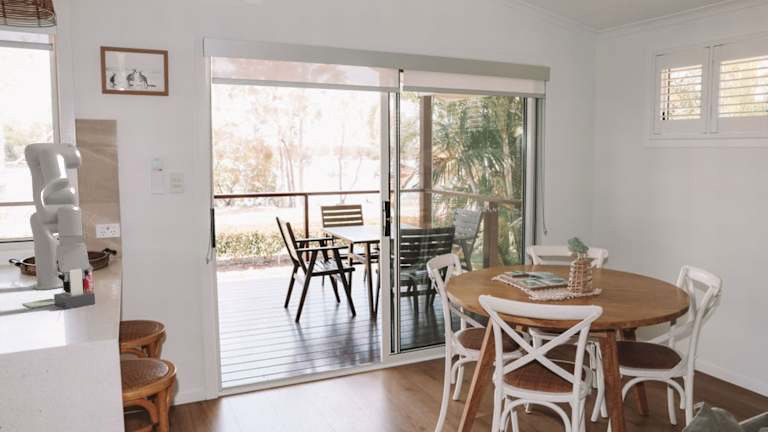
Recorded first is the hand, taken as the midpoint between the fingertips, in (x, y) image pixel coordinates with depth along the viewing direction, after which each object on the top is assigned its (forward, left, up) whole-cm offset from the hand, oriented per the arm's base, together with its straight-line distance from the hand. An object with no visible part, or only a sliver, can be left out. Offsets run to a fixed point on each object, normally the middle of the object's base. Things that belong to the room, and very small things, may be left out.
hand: (74, 290), depth 219 cm
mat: (-11, -7, -5) cm, 14 cm away
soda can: (-10, +7, -5) cm, 13 cm away
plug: (0, 0, -4) cm, 4 cm away
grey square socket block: (0, 0, -5) cm, 5 cm away
